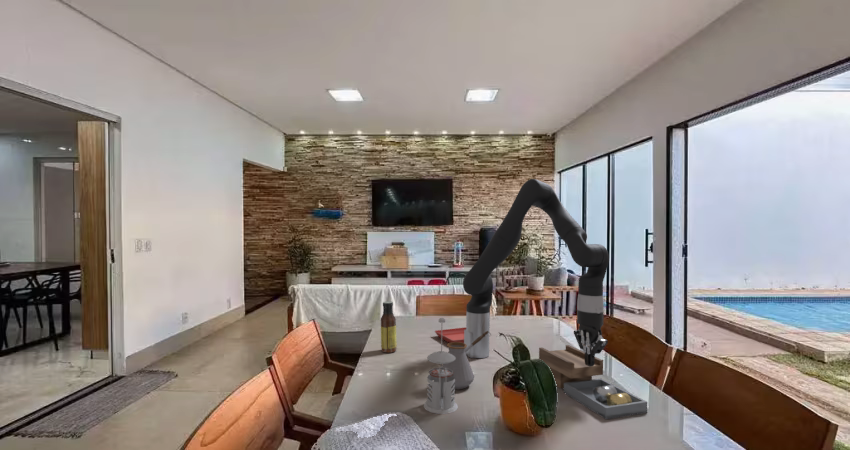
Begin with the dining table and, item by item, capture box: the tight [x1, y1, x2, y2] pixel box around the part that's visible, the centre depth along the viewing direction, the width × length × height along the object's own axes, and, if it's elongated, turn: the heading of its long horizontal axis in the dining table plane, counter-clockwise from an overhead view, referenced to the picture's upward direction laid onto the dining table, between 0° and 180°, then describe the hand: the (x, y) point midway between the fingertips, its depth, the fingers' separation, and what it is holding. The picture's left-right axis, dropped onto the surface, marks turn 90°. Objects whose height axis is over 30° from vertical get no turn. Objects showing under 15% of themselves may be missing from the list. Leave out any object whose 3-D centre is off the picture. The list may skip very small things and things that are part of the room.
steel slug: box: [594, 385, 617, 402], centre depth 119 cm, size 5×4×4 cm
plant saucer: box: [434, 326, 466, 343], centre depth 184 cm, size 18×18×3 cm
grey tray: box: [563, 378, 648, 420], centre depth 120 cm, size 14×18×3 cm
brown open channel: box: [538, 344, 604, 389], centre depth 135 cm, size 12×17×10 cm
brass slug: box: [607, 393, 632, 406], centre depth 114 cm, size 5×4×4 cm
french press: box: [423, 317, 459, 415], centre depth 115 cm, size 10×12×25 cm
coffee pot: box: [442, 331, 492, 390], centre depth 135 cm, size 21×12×15 cm, turn 130°
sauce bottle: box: [380, 301, 398, 354], centre depth 166 cm, size 7×6×20 cm
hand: (589, 365), depth 126 cm, fingers closed
